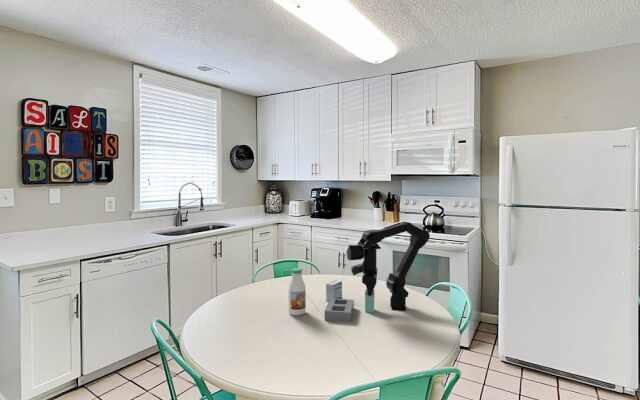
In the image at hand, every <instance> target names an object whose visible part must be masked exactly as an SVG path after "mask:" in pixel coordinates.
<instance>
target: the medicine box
mask: <svg viewBox="0 0 640 400" xmlns="http://www.w3.org/2000/svg"><path fill="white" fill-rule="evenodd" d="M325 289H326V290H325V293H326V294H325V296H326V299H325V300H326V301H327V302H329V300H330V298H333V299H343V281H342V280H337V279H336V280H332V281H331V282H327V283H326V284H325Z"/></svg>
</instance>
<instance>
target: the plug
mask: <svg viewBox="0 0 640 400" xmlns="http://www.w3.org/2000/svg"><path fill="white" fill-rule="evenodd" d="M364 296H365V297H364V312H365V313H370V314H371V313H372V314H374V313H375V289H374V290H373V292H372V295H371V296H368V292H367V288H366V289H365V292H364Z"/></svg>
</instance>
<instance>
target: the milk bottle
mask: <svg viewBox="0 0 640 400" xmlns="http://www.w3.org/2000/svg"><path fill="white" fill-rule="evenodd" d="M302 275H303V269H302V268H300V267H294V268H291V279H290V281H289V284H288V302H287V303H288V304H287V305H288V306H287V307H288V309H287V310H288V314H289V315H290V316H299V317H300V316H303V315H305V314H306V310H307V309H306V307H307V306H306V298H307V297H306V292H307V291H306V284H305V282H304V279H303V276H302Z"/></svg>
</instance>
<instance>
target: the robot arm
mask: <svg viewBox="0 0 640 400" xmlns="http://www.w3.org/2000/svg"><path fill="white" fill-rule="evenodd" d="M402 233H407V234H409V235H410V237H409V245H408V248H407V249H406V252H405V253H404V255H403V257H402V259H401V261H400V263H399V265H398V267H397V269H396V271H395V272H394V273H391V272H390V273H389V274H388V277H387V279H386V280H385V281H386V282H385V285H386V287H387V289H388V290H389V293H391V296H390V301H389V302H390V303H389V304H390V307H391V310H392V311H393V310H394V311H407V306H406V305H407V304H406V301H407V300H406V299H407V298H408V297H409V294H410V292H409V291H407V290H406V288H405V285H406V277H407V275H408V273H409V271H410V269H411V266H412V265H413V263H414V260H416V257H417V256H418V255H417V254H418V253H419V252H420V250H421V249H422V248H423V247H424V246H425V245H426V244H427V243H428V242H429V239H430V238H431V235H430V232H429V231H428V230H426V229H423V228H419V227H417V226H415V225H414V224H412V223H411V222H409V221H408V222H407V221H402V222H401V223H397V224H395V225H391V226H387V227H384V228H380V229H368V230H365V231H363V233H362V234H361V238H360V239H359V241H357V242H358V243H357V244H348V247H347V250H346V258H347V260H348V261H360V260H362V263H358V264H355V265H352V266H351V267H350V270H351V273H352V275H353V276H356V275H358V274H361V273H362V274H363V275H362V277H361V283H362V284H364V285H365V288H366V289H367V292H368V296H371V295H372V292H373V290H374V291H375V287H376V285H377V283H378V282H377V281H378V280H377V279H378V278H377V277H378V267H377V255H378V254H377V250H381V249H382V247H381V246H380V245H379V243H380V242H382V241H383V240H384V239H387V238H390V237H393V236H396V235H399V234H402Z"/></svg>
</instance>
